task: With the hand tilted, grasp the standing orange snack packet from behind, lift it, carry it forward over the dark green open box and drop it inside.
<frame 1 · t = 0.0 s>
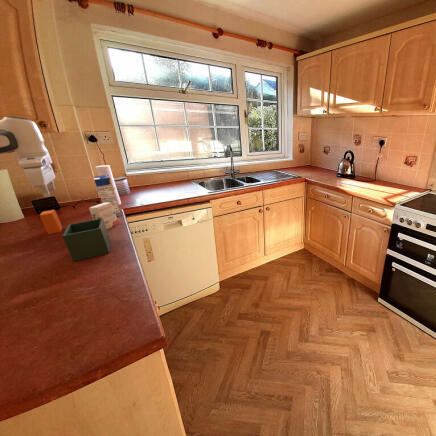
hand: (50, 193, 103), 22 cm above the countertop, tool pointing down, fingers open, 8 cm apart
ink box: (108, 227, 124), on the countertop
dark green open box: (93, 250, 101), on the countertop
beverage box: (113, 215, 141), on the countertop
packet: (55, 231, 121), on the countertop
can: (122, 194, 183), on the countertop
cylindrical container: (114, 204, 159), on the countertop
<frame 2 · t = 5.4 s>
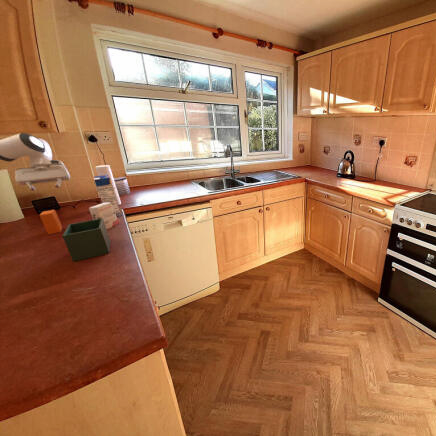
hand: (45, 188, 123), 19 cm above the countertop, tool tilted 45°, fingers open, 8 cm apart
nothing on the countertop moved.
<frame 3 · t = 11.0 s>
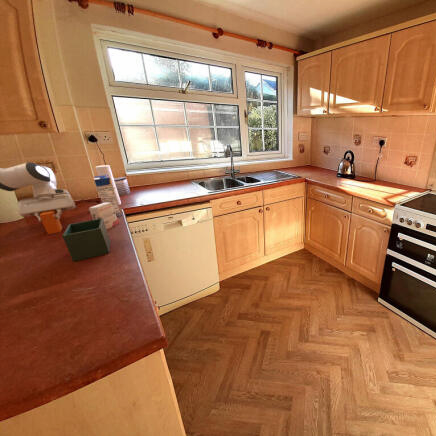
hand: (49, 220, 118), 6 cm above the countertop, tool tilted 45°, fingers closed on packet, 4 cm apart
packet: (55, 231, 121), on the countertop, touching gripper
everything else where it was.
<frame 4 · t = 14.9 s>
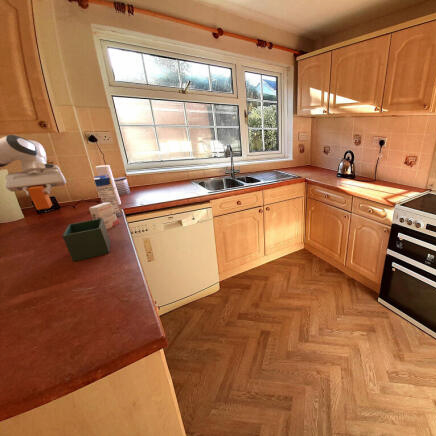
hand: (38, 194, 113), 19 cm above the countertop, tool tilted 45°, fingers closed on packet, 4 cm apart
packet: (44, 207, 116), point 13 cm above the countertop, touching gripper
everything else where it was.
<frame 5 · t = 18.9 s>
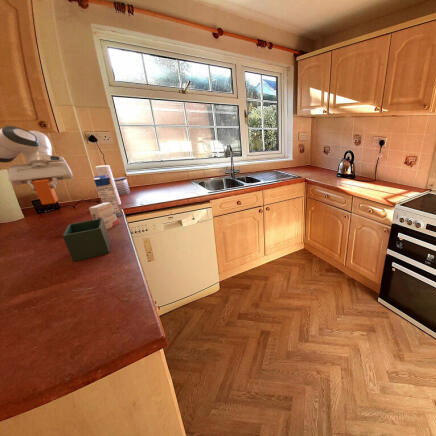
hand: (44, 188, 106), 23 cm above the countertop, tool tilted 45°, fingers closed on packet, 4 cm apart
packet: (50, 202, 109), point 17 cm above the countertop, touching gripper
everything else where it was.
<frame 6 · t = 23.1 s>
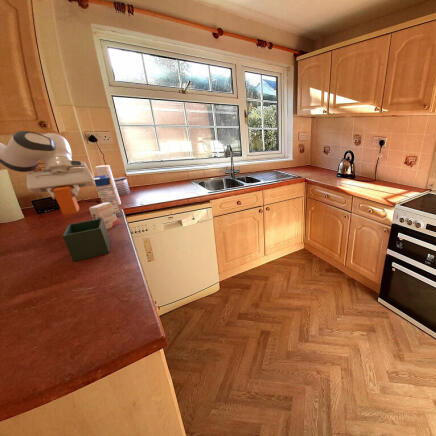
hand: (65, 197, 96), 22 cm above the countertop, tool tilted 45°, fingers closed on packet, 4 cm apart
packet: (71, 211, 99), point 16 cm above the countertop, touching gripper
everything else where it was.
when the fingers open (17 cm above the countertop, at t = 26.8 s): packet drops 10 cm, resting on dark green open box.
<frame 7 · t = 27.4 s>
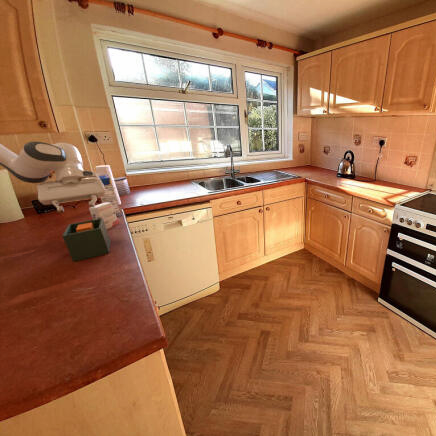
hand: (76, 208, 93), 19 cm above the countertop, tool tilted 45°, fingers open, 8 cm apart
packet: (92, 247, 101), point 1 cm above the countertop, touching dark green open box
everything else where it was.
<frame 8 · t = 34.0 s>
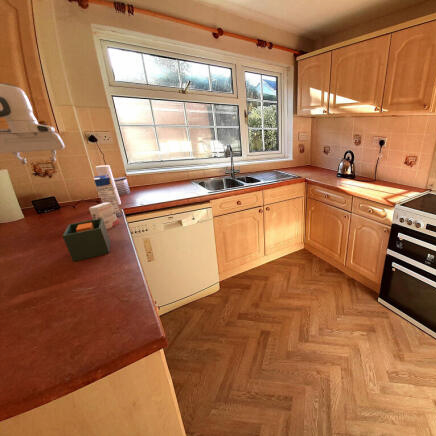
hand: (39, 162, 106), 34 cm above the countertop, tool pointing down, fingers open, 8 cm apart
nothing on the countertop moved.
at the end: packet inside the target area in the dark green open box (0.5 cm from its centre), point 1.0 cm above the dark green open box's base; the gripper is holding nothing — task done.
